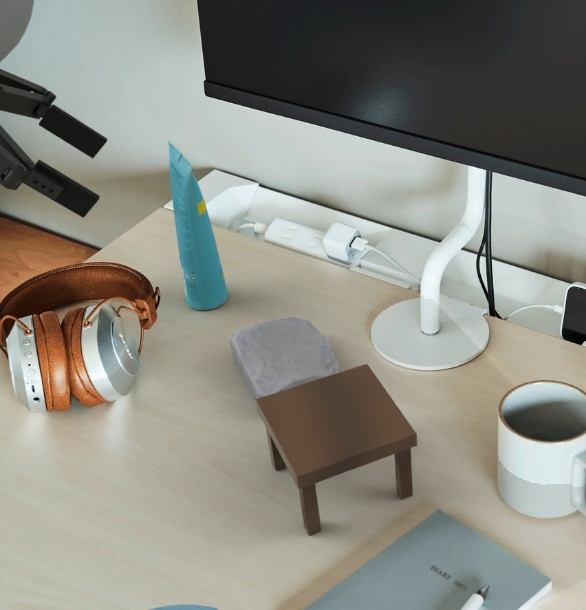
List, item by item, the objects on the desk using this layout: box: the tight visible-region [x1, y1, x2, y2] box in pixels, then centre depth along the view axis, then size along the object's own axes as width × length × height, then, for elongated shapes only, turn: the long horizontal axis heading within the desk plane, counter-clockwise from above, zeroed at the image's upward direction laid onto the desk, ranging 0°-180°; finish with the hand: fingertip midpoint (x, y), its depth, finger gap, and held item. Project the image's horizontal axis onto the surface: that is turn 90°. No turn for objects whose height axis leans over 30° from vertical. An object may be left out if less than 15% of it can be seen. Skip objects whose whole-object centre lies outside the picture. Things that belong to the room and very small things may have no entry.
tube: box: [168, 140, 229, 311], centre depth 105 cm, size 7×5×19 cm, turn 39°
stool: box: [255, 363, 418, 537], centre depth 85 cm, size 11×11×8 cm
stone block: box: [229, 316, 340, 400], centre depth 98 cm, size 12×5×10 cm
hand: (96, 176), depth 99 cm, fingers open, 13 cm apart
